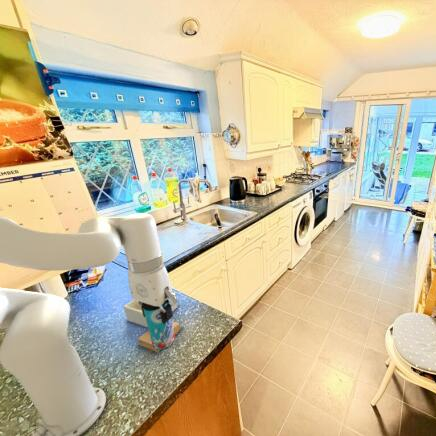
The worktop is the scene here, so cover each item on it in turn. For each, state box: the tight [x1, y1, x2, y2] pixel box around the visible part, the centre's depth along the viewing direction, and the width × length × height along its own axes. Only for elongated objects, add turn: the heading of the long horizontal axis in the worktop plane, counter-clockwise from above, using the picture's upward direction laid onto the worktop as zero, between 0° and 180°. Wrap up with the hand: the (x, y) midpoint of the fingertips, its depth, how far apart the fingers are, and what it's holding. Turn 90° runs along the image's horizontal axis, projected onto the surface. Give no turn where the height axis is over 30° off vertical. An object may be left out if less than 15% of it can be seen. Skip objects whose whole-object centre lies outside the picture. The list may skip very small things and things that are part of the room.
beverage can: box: [143, 301, 176, 351], centre depth 67 cm, size 6×6×15 cm
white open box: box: [123, 292, 179, 328], centre depth 93 cm, size 13×13×7 cm
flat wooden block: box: [137, 320, 181, 353], centre depth 83 cm, size 10×8×3 cm
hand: (158, 316), depth 66 cm, fingers closed on beverage can, 5 cm apart
